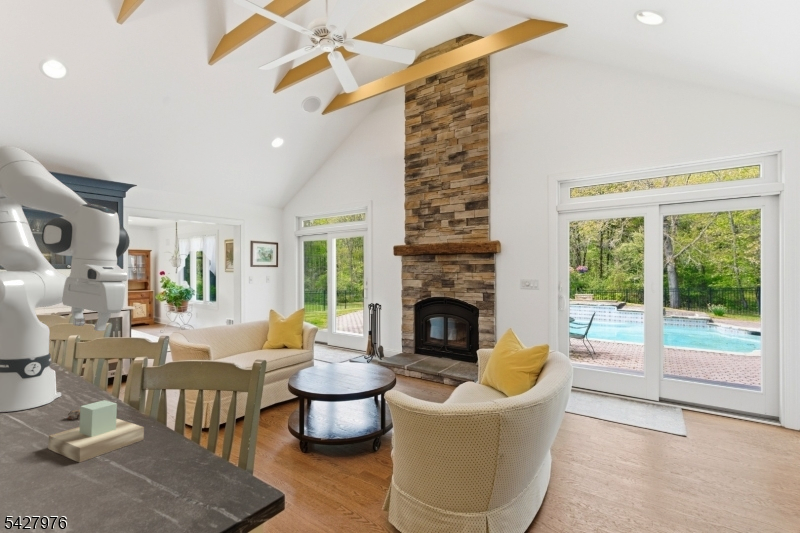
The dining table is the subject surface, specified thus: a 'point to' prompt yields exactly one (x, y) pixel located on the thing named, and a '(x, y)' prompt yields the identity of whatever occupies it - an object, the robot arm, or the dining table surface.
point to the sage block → (98, 418)
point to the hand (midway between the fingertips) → (89, 327)
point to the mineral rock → (74, 415)
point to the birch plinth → (94, 441)
